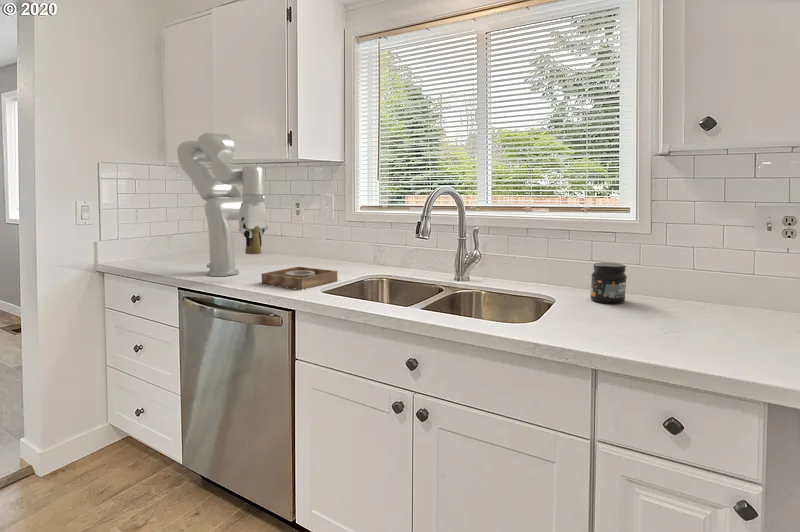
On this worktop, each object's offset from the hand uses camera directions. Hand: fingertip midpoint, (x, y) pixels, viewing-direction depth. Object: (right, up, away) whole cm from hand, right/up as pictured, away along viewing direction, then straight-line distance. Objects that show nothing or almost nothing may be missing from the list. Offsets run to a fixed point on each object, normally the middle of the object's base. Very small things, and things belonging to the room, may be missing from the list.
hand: (253, 246), depth 199 cm
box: (+18, -14, -1) cm, 23 cm away
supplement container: (+123, -19, -30) cm, 128 cm away
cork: (0, -3, 0) cm, 3 cm away
